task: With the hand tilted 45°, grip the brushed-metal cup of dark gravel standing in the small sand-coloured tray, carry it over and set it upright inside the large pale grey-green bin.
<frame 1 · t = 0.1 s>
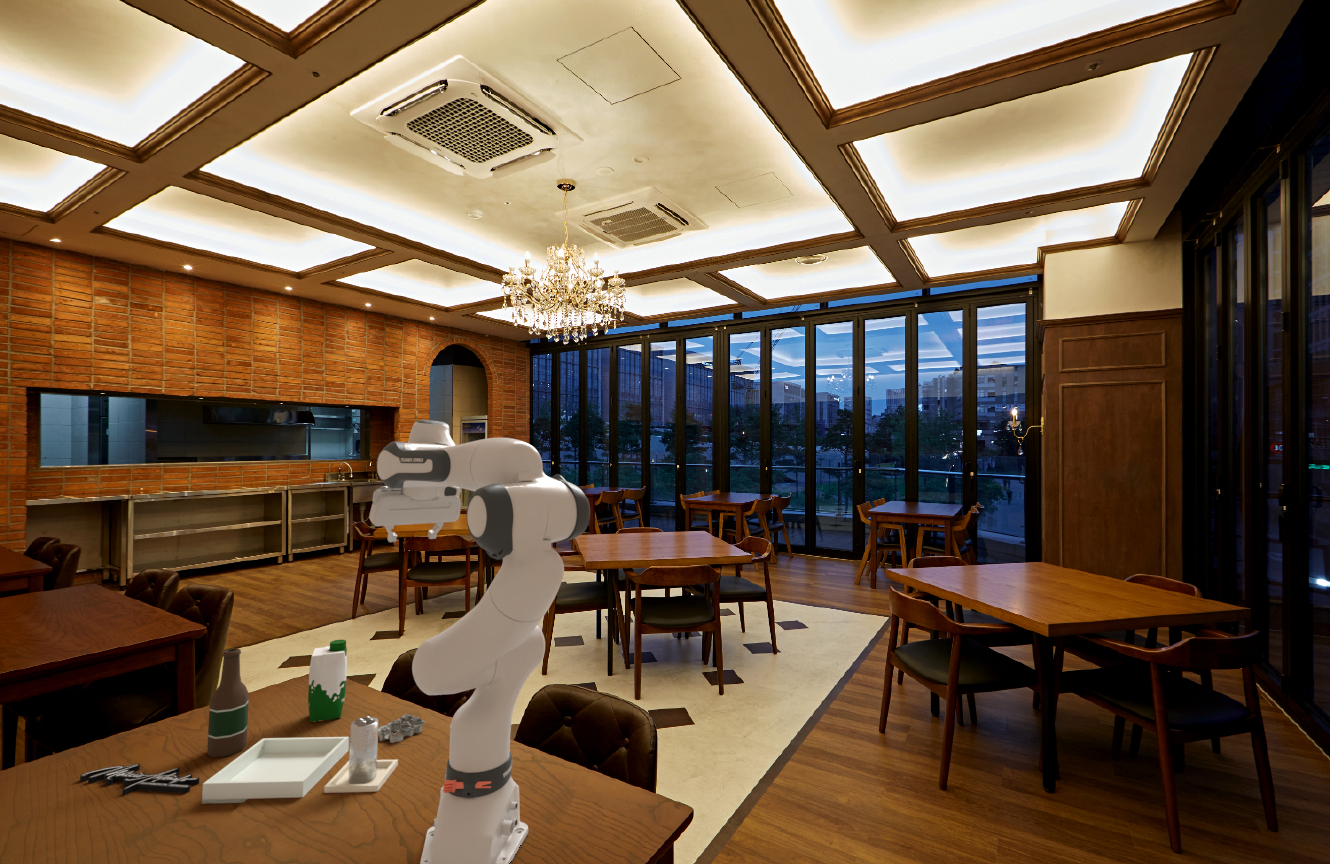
hand: (412, 539, 141), 52 cm above the table, tool tilted 20°, fingers open, 8 cm apart
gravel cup: (362, 777, 130), point 1 cm above the table, touching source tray
beer bottle: (227, 750, 143), on the table
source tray: (362, 781, 130), on the table
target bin: (281, 776, 131), on the table
nameplate: (140, 785, 128), on the table
milk carton: (326, 716, 163), on the table
egg carton: (400, 737, 151), on the table
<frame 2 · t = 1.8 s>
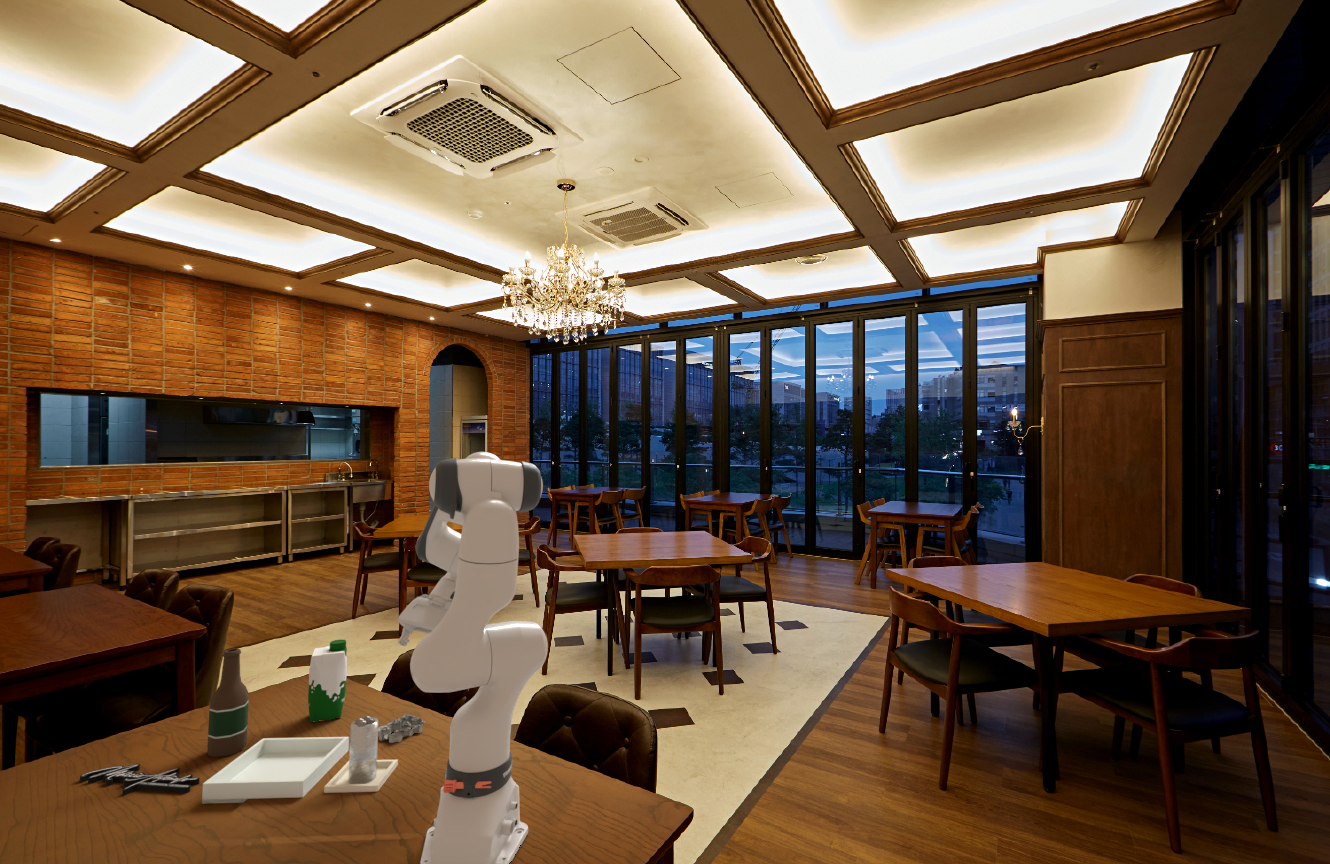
hand: (414, 647, 142), 26 cm above the table, tool tilted 45°, fingers open, 8 cm apart
nothing on the table moved.
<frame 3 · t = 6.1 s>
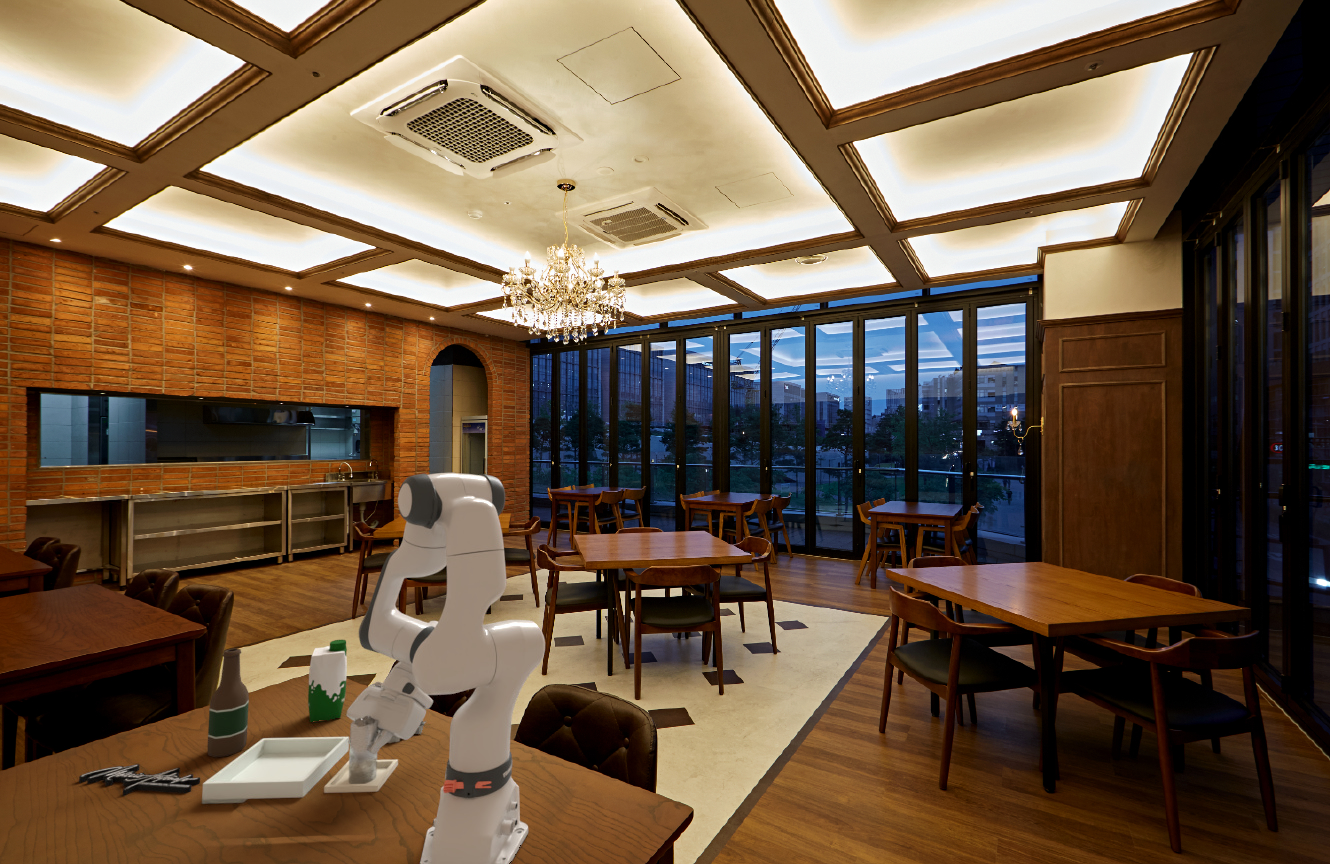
hand: (361, 748, 129), 7 cm above the table, tool tilted 45°, fingers closed on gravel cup, 6 cm apart
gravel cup: (362, 777, 130), point 1 cm above the table, touching gripper, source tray
everything else where it was.
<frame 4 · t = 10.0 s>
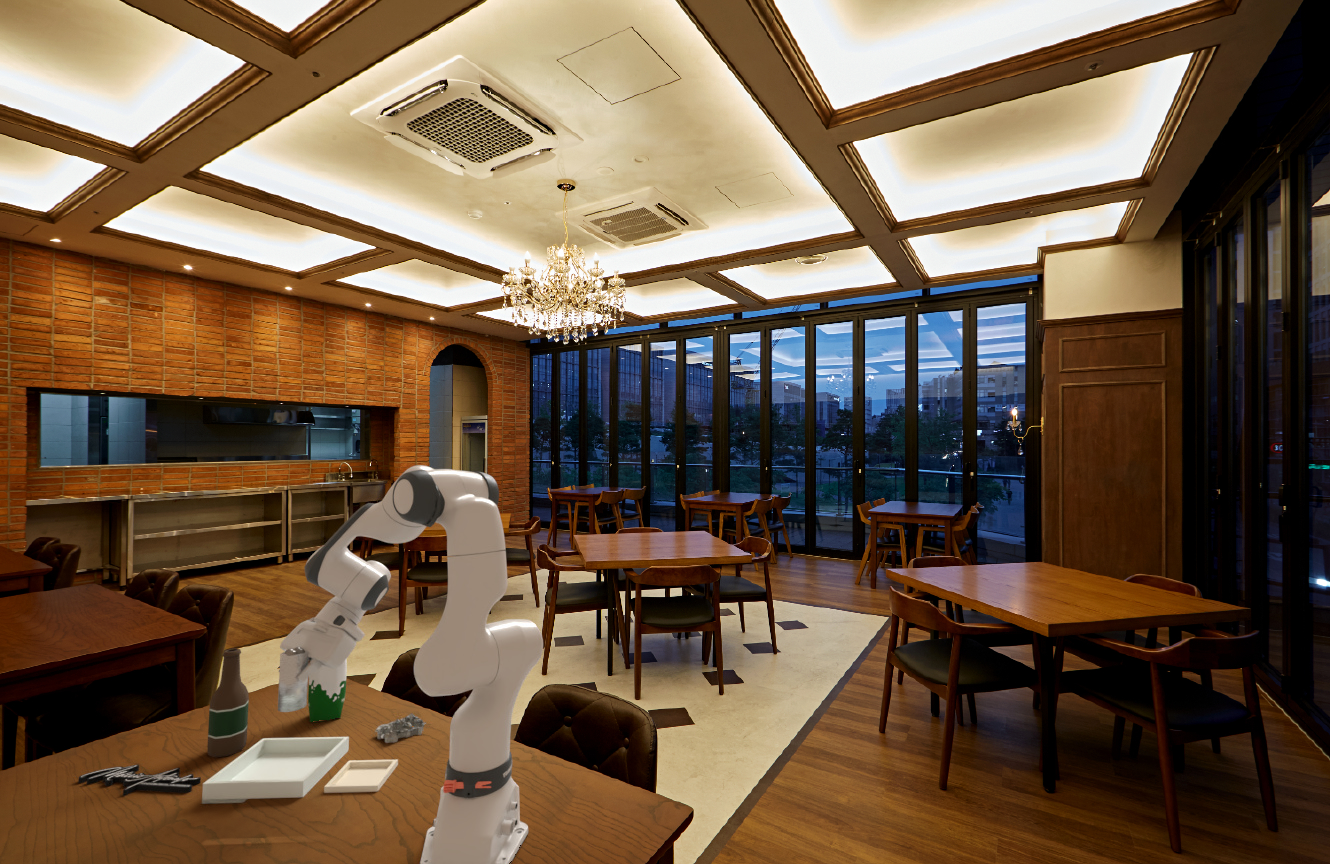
hand: (290, 676, 132), 22 cm above the table, tool tilted 45°, fingers closed on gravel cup, 5 cm apart
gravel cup: (292, 706, 132), point 15 cm above the table, touching gripper
everything else where it was.
when the fingers open (9 cm above the table, at t = 13.8 s): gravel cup drops 1 cm, resting on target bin.
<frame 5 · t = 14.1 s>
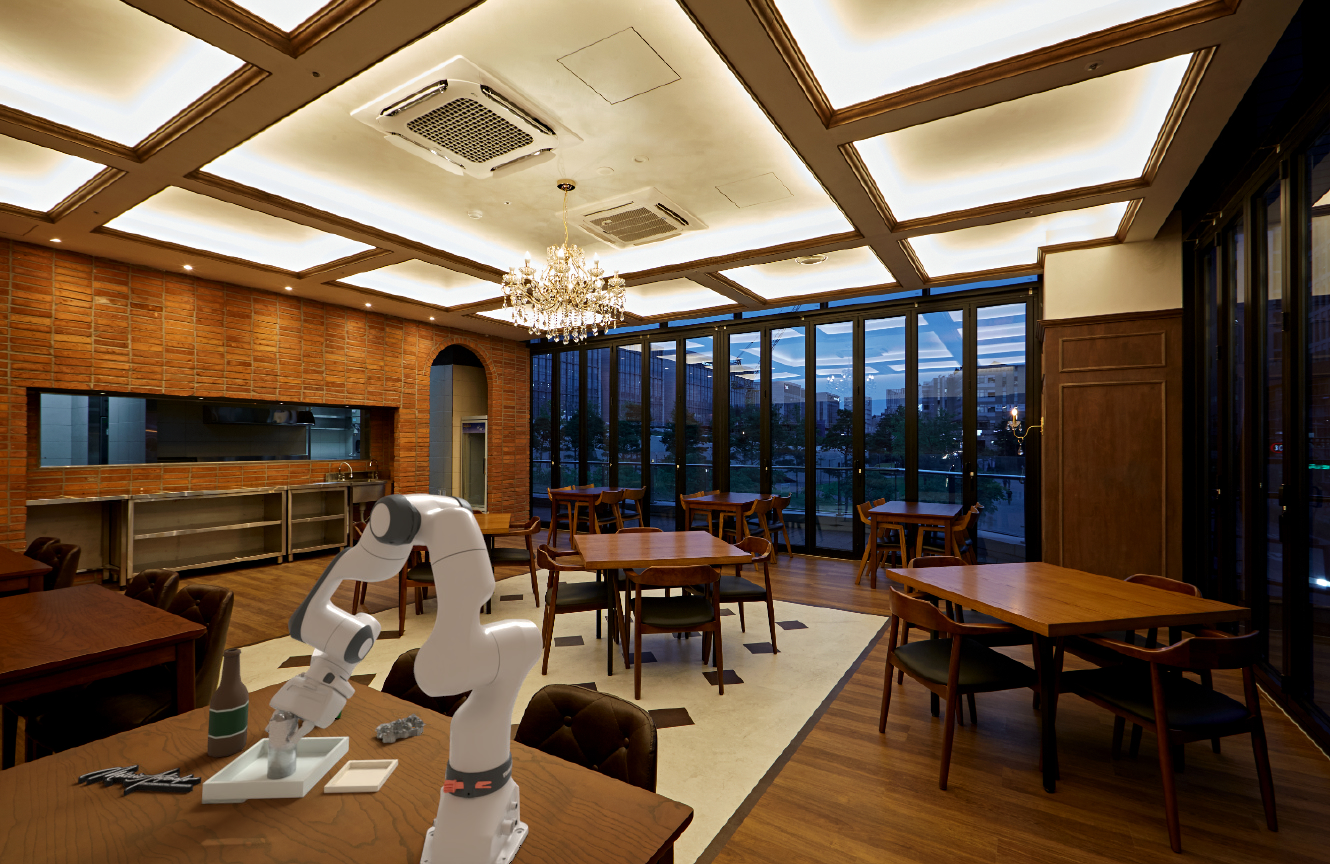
hand: (279, 737, 131), 9 cm above the table, tool tilted 45°, fingers open, 8 cm apart
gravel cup: (281, 772, 131), point 1 cm above the table, touching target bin
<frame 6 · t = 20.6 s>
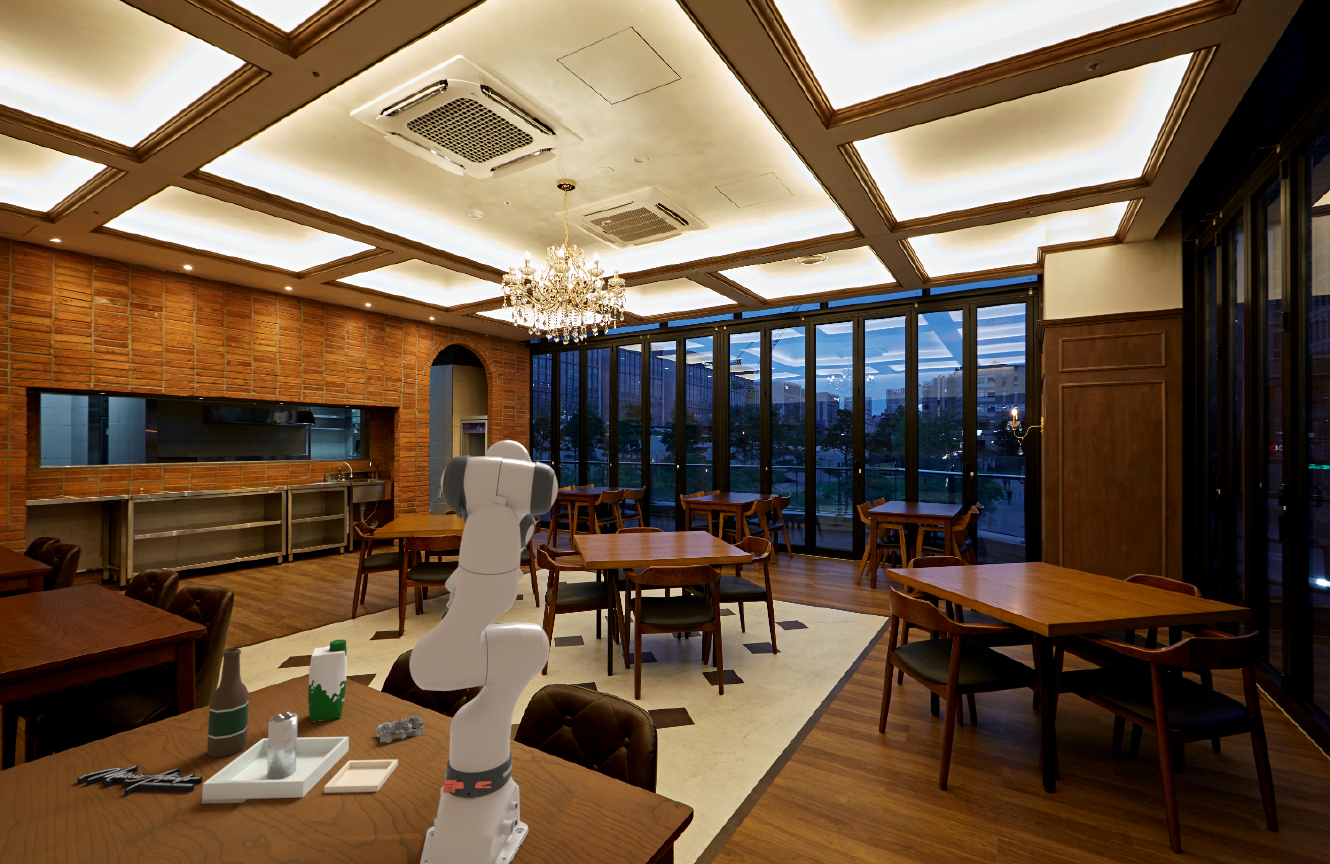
hand: (462, 610, 144), 34 cm above the table, tool tilted 45°, fingers open, 8 cm apart
at the end: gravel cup inside the target area on the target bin (0.1 cm from its centre), point 0.8 cm above the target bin's base; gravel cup tilted 1°; the gripper is holding nothing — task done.
